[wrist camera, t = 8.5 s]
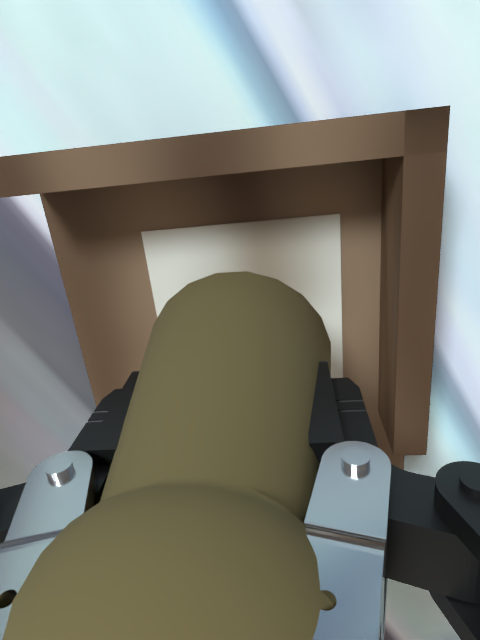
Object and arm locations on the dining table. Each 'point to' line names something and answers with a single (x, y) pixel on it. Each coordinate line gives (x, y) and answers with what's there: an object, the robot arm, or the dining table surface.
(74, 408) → the dining table surface
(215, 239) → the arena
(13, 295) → the dining table surface
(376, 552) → the robot arm
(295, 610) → the olive double-lobed piece
